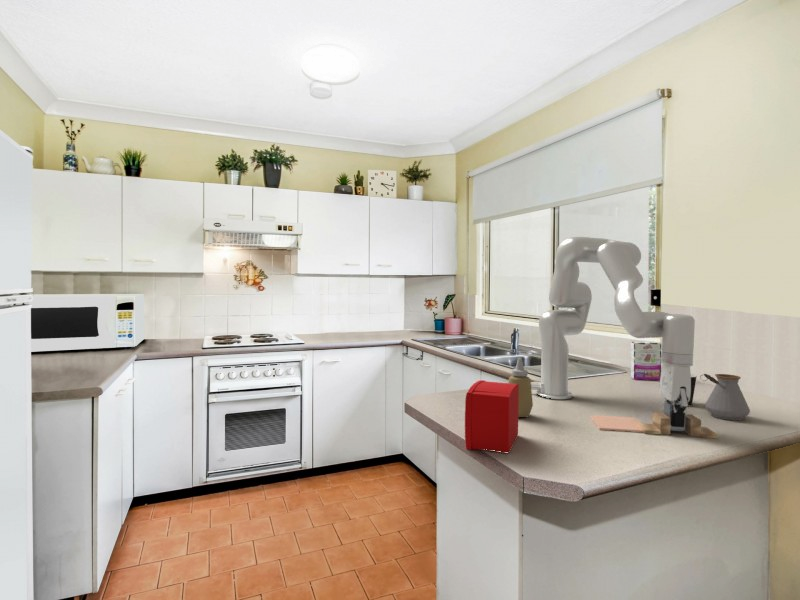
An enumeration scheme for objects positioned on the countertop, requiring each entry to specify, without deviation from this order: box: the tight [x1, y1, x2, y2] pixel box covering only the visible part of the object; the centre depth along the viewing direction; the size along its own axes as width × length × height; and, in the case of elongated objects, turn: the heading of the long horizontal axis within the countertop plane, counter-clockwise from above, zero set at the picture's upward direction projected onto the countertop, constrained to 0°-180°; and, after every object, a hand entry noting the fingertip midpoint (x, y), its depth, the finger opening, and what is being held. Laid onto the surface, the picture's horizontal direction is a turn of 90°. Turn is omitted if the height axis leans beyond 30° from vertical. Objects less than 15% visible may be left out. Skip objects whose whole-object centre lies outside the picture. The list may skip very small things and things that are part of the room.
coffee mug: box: [677, 373, 697, 406], centre depth 161 cm, size 12×9×10 cm
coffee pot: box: [699, 373, 751, 421], centre depth 141 cm, size 21×12×15 cm, turn 123°
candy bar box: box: [630, 341, 662, 382], centre depth 201 cm, size 11×5×16 cm, turn 81°
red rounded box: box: [464, 380, 519, 453], centre depth 119 cm, size 16×11×15 cm
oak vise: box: [637, 411, 719, 440], centre depth 128 cm, size 18×7×4 cm, turn 78°
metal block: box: [663, 400, 687, 432], centre depth 129 cm, size 4×4×7 cm
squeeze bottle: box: [507, 357, 534, 418], centre depth 143 cm, size 8×8×18 cm
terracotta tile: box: [589, 414, 644, 433], centre depth 135 cm, size 13×13×1 cm
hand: (674, 423), depth 129 cm, fingers closed on metal block, 4 cm apart
